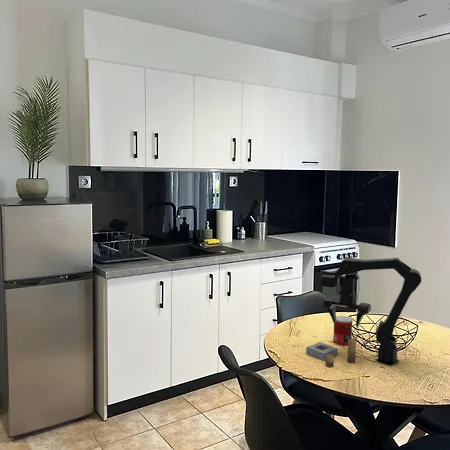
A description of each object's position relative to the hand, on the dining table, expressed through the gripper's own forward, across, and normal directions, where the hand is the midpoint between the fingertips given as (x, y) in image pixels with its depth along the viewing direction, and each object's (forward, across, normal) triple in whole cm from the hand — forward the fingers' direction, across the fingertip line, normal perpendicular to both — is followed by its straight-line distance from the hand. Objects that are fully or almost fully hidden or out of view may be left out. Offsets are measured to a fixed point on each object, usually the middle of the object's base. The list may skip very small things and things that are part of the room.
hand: (345, 325), depth 195 cm
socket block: (+12, +8, +5) cm, 16 cm away
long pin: (+12, -4, +6) cm, 14 cm away
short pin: (+12, +2, +14) cm, 19 cm away
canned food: (+13, +5, -13) cm, 19 cm away
